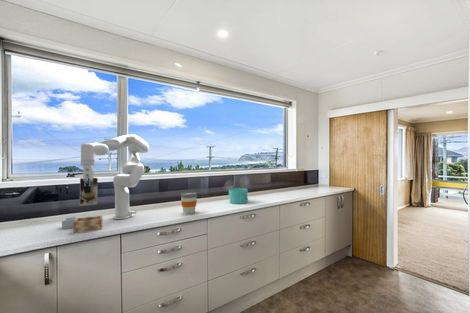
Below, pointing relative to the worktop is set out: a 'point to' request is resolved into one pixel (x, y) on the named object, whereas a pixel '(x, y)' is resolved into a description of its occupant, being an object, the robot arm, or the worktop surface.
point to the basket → (238, 195)
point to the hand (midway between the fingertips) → (88, 191)
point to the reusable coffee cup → (188, 202)
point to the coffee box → (88, 197)
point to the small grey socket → (68, 222)
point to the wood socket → (88, 223)
